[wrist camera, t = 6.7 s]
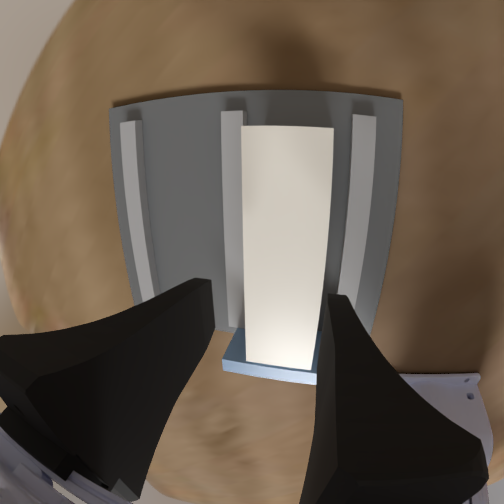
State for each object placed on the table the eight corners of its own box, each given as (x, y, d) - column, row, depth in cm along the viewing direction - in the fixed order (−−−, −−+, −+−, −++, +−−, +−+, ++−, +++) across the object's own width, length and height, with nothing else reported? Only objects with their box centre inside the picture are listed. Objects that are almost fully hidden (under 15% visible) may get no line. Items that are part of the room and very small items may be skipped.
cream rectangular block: (332, 129, 14) (333, 128, 10) (317, 322, 19) (310, 370, 15) (264, 126, 15) (241, 125, 11) (263, 315, 20) (246, 361, 16)
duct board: (401, 100, 13) (425, 91, 9) (365, 345, 19) (368, 391, 15) (112, 108, 17) (66, 110, 13) (139, 310, 23) (109, 341, 19)
